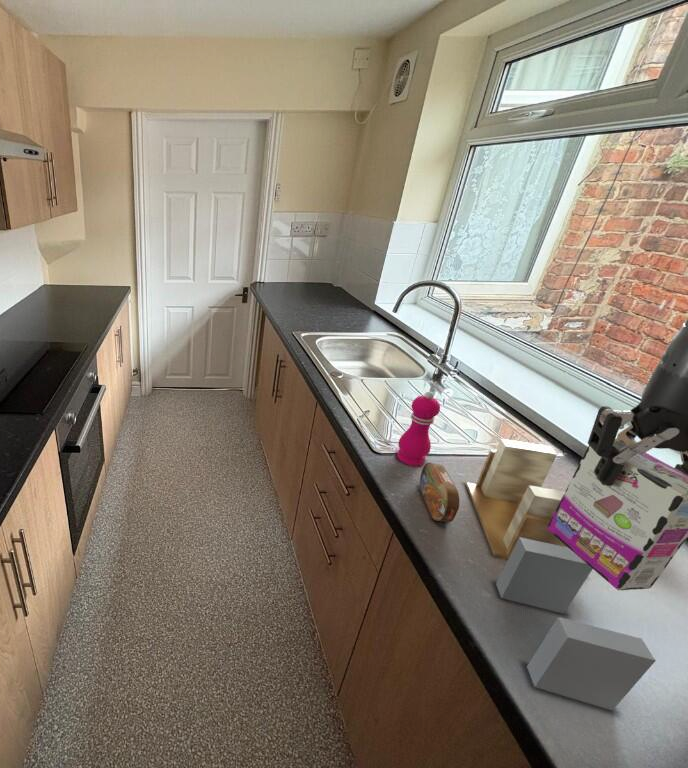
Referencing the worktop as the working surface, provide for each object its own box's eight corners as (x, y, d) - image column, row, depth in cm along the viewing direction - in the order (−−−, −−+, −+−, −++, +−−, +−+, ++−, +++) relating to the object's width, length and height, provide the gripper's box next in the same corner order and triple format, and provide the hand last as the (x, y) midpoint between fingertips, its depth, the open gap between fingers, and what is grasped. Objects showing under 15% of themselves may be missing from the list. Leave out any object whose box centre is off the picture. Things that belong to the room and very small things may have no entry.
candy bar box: (653, 589, 54) (725, 493, 47) (617, 592, 54) (683, 496, 47) (574, 525, 64) (623, 437, 57) (543, 527, 64) (588, 439, 57)
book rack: (535, 498, 95) (562, 444, 88) (582, 577, 76) (620, 516, 70) (465, 485, 99) (485, 432, 92) (493, 556, 81) (521, 497, 74)
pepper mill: (424, 471, 104) (447, 402, 95) (393, 462, 107) (411, 394, 98) (426, 456, 109) (448, 389, 100) (396, 448, 113) (414, 382, 104)
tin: (416, 482, 100) (425, 454, 96) (430, 484, 100) (440, 456, 96) (436, 529, 87) (447, 498, 83) (453, 531, 86) (465, 501, 83)
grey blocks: (555, 599, 73) (585, 551, 67) (611, 711, 57) (655, 660, 52) (495, 584, 75) (519, 536, 70) (533, 688, 60) (567, 637, 55)
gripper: (646, 376, 45) (581, 494, 53) (835, 394, 41) (735, 521, 48) (608, 351, 51) (555, 460, 59) (769, 364, 47) (689, 480, 54)
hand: (636, 487), depth 53 cm, fingers closed on candy bar box, 6 cm apart
